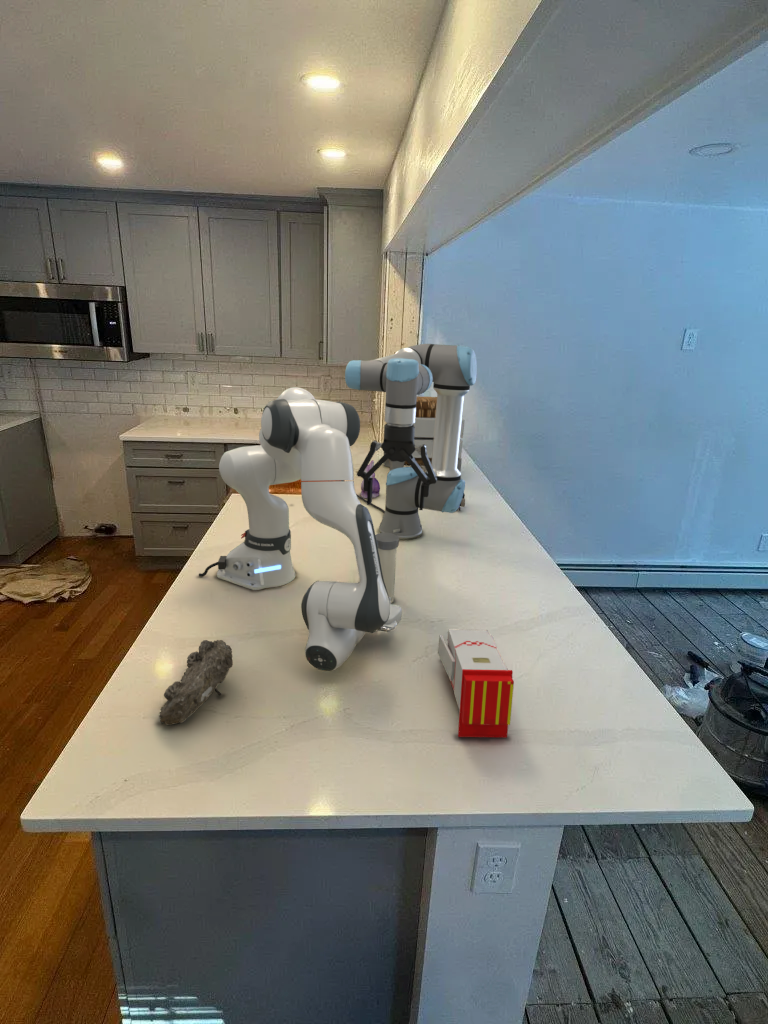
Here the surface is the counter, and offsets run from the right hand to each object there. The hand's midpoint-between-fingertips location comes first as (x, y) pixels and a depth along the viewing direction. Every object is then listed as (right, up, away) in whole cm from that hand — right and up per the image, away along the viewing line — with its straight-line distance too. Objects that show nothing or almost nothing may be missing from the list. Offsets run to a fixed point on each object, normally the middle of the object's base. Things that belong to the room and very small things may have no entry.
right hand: (395, 506), depth 146 cm
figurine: (-9, +5, +93) cm, 93 cm away
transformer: (+14, +17, +129) cm, 131 cm away
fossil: (-39, -38, -32) cm, 63 cm away
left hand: (-6, -23, -4) cm, 24 cm away
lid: (-2, -8, +2) cm, 9 cm away
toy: (+15, -39, -27) cm, 50 cm away
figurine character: (+26, +1, +84) cm, 88 cm away
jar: (-3, -25, +8) cm, 27 cm away
